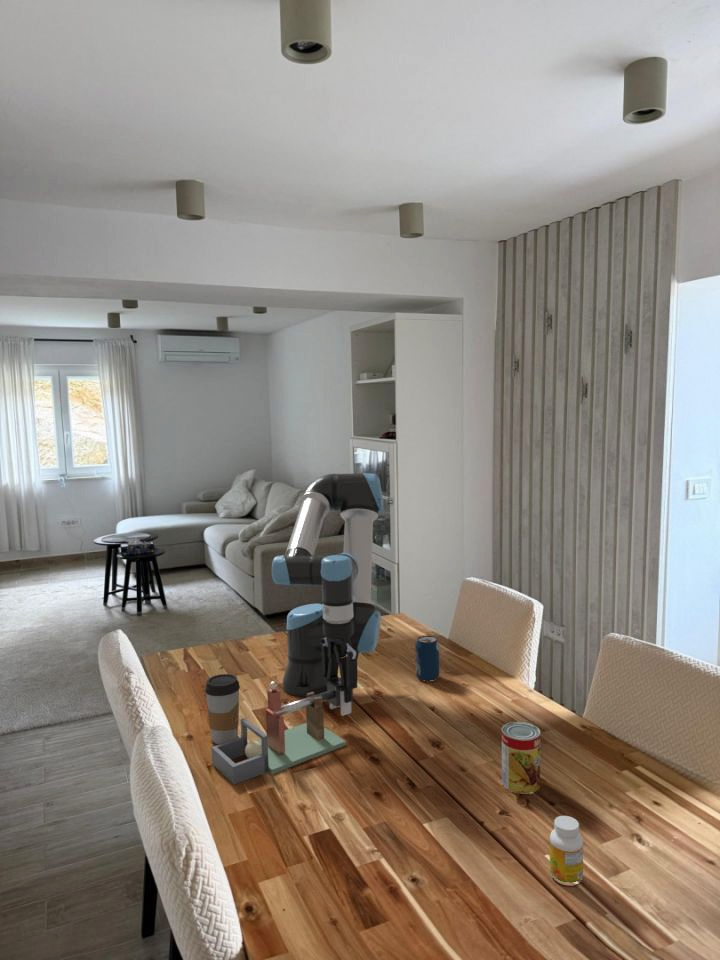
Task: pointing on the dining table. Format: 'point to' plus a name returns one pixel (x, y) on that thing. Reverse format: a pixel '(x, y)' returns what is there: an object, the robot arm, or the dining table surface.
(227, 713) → the coffee cup
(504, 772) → the canned food
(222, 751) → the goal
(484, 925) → the dining table surface
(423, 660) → the soda can
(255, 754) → the ball
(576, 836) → the supplement bottle
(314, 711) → the foosball player figure
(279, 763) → the mat
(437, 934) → the dining table surface
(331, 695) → the stand
